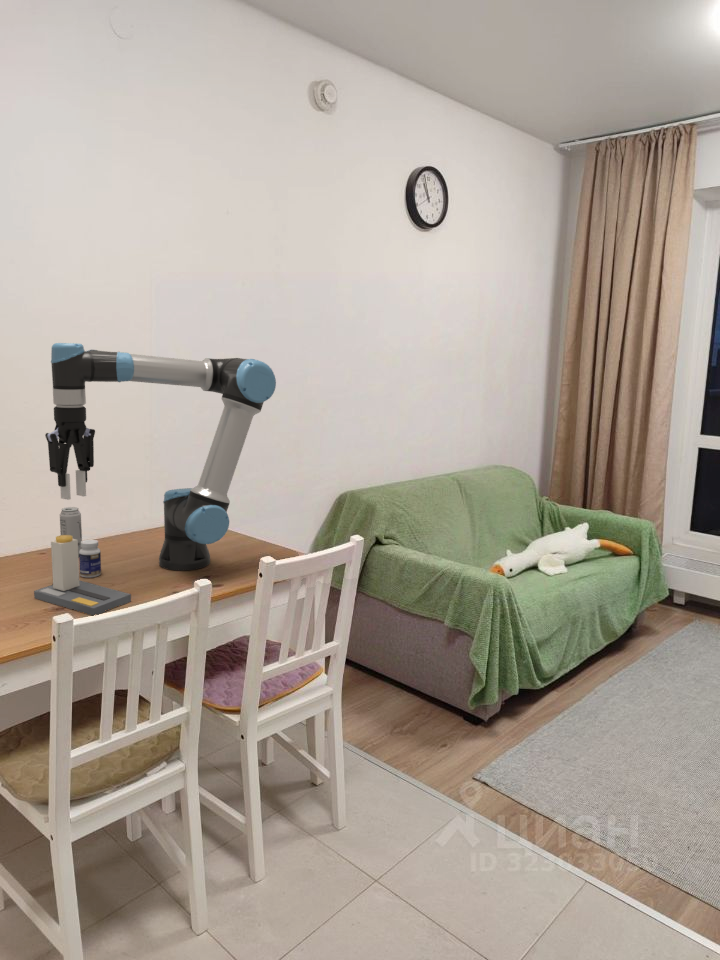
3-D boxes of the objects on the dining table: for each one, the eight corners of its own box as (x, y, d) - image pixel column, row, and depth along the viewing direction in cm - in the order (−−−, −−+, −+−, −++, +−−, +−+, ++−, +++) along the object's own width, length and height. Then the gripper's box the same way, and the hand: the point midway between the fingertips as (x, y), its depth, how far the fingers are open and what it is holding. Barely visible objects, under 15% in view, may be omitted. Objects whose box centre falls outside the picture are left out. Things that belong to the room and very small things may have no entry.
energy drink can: (82, 558, 221) (80, 510, 218) (61, 559, 219) (58, 511, 216) (82, 552, 227) (80, 506, 224) (62, 554, 225) (59, 507, 222)
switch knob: (53, 588, 188) (50, 537, 186) (69, 582, 193) (66, 533, 190) (63, 591, 186) (61, 540, 184) (79, 585, 191) (77, 536, 188)
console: (34, 598, 187) (33, 590, 187) (72, 585, 198) (72, 577, 197) (93, 616, 177) (93, 607, 176) (131, 601, 187) (130, 593, 187)
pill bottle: (94, 579, 203) (93, 545, 201) (75, 577, 204) (74, 543, 202) (105, 572, 209) (103, 539, 207) (86, 571, 210) (85, 538, 208)
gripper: (87, 402, 190) (90, 489, 194) (29, 406, 175) (34, 501, 179) (107, 404, 186) (110, 493, 190) (50, 409, 171) (55, 505, 176)
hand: (73, 496), depth 185 cm, fingers open, 4 cm apart
